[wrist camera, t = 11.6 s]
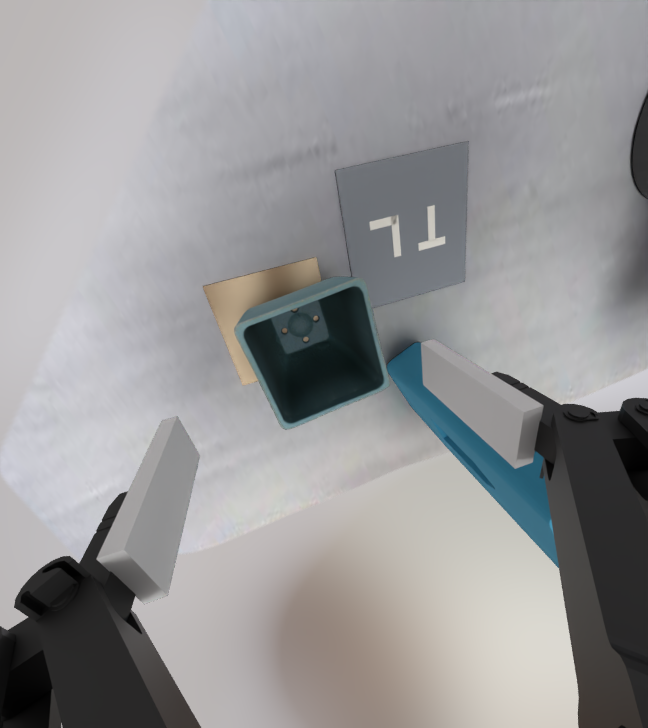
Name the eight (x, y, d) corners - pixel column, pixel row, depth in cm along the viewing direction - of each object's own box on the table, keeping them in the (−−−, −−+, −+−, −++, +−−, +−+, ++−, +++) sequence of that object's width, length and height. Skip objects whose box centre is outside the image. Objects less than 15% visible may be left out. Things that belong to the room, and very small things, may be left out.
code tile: (466, 141, 24) (468, 140, 24) (463, 281, 30) (465, 281, 30) (334, 170, 23) (335, 170, 23) (357, 311, 28) (358, 312, 28)
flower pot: (234, 296, 25) (229, 327, 17) (328, 261, 25) (365, 275, 17) (273, 377, 29) (283, 433, 21) (352, 345, 30) (391, 387, 22)
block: (376, 355, 31) (546, 517, 14) (413, 327, 31) (636, 456, 13) (419, 419, 37) (578, 591, 19) (451, 396, 37) (642, 550, 19)
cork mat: (315, 257, 25) (316, 257, 25) (336, 355, 30) (337, 356, 30) (203, 286, 24) (202, 286, 24) (242, 384, 29) (242, 385, 28)
